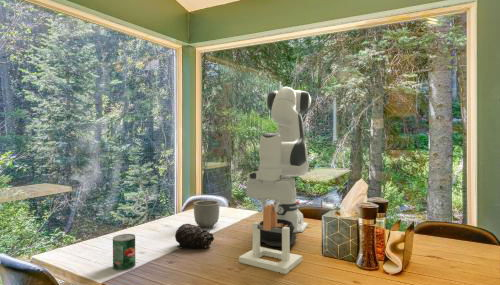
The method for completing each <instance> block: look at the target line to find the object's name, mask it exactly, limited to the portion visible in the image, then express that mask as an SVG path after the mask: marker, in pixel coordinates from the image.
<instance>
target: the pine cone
mask: <svg viewBox="0 0 500 285" xmlns="http://www.w3.org/2000/svg"><path fill="white" fill-rule="evenodd" d="M174 237H175V242H177V243H178V244H177V248H179V249H181V250H182V249H183V250H193V251H194V250H197V251H211V250H212V249H211V245H212V243H213V242H214V241H215V238H214V234H213V233H212V232H210V231H208V229H205V228H201V227H200V226H199V225H197V224H196V225H195V224H191V223H184V224H181V225H180V226H179V227H178V228H177V229H176V232H175V235H174Z"/></svg>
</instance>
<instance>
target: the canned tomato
mask: <svg viewBox="0 0 500 285" xmlns="http://www.w3.org/2000/svg"><path fill="white" fill-rule="evenodd" d="M135 267H136V235H135V234H133V233H122V234H117V235H114V236H113V237H112V270H114V271H117V272H123V271H128V270H131V269H133V268H135Z"/></svg>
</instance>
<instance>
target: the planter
mask: <svg viewBox="0 0 500 285" xmlns="http://www.w3.org/2000/svg"><path fill="white" fill-rule="evenodd" d="M220 206H221V204H220V202H219V201H217V200H210V199H206V200H197V201H194V202H193V206H192V207H193V218H194V221H195V224H196V225H197V226H198V227H200V228H202V229H206V230H208V229H212V228H213V227H214V226H215V225H216V224H217V223H218V221H219V219H220Z"/></svg>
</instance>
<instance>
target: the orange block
mask: <svg viewBox="0 0 500 285" xmlns="http://www.w3.org/2000/svg"><path fill="white" fill-rule="evenodd" d="M267 205H268V206H265V207H262V221H263V230H268V231H269V230H271V227H277V212H273V211H272V210H273V209H272V207H274V206H275V205H274V203H273V204H272V203H271V204H267Z"/></svg>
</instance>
